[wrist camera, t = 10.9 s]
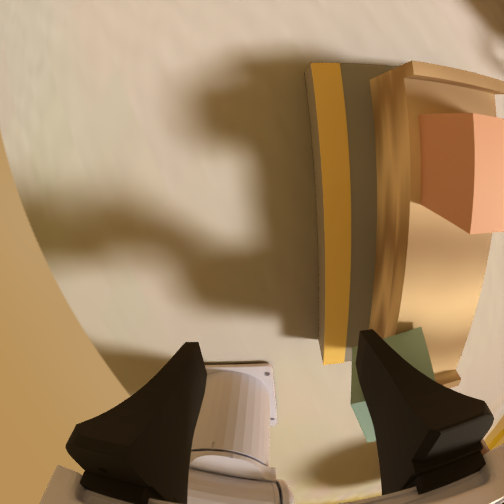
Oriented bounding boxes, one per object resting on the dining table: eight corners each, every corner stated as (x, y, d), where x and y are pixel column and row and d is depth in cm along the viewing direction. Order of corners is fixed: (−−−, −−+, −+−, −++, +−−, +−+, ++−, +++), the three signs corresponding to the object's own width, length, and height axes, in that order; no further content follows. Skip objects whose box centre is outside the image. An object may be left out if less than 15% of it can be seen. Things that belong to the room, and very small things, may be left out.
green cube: (428, 373, 15) (438, 425, 11) (368, 390, 16) (367, 442, 13) (421, 326, 14) (435, 381, 10) (352, 347, 15) (350, 404, 12)
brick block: (483, 202, 11) (535, 228, 8) (420, 204, 12) (469, 234, 8) (484, 122, 10) (540, 128, 6) (418, 114, 10) (472, 113, 7)
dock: (443, 320, 23) (458, 340, 20) (318, 339, 24) (323, 364, 21) (460, 85, 15) (483, 82, 12) (304, 73, 16) (311, 63, 14)
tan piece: (429, 337, 20) (458, 385, 15) (366, 348, 20) (385, 403, 15) (448, 88, 13) (505, 82, 8) (369, 79, 14) (411, 60, 9)
